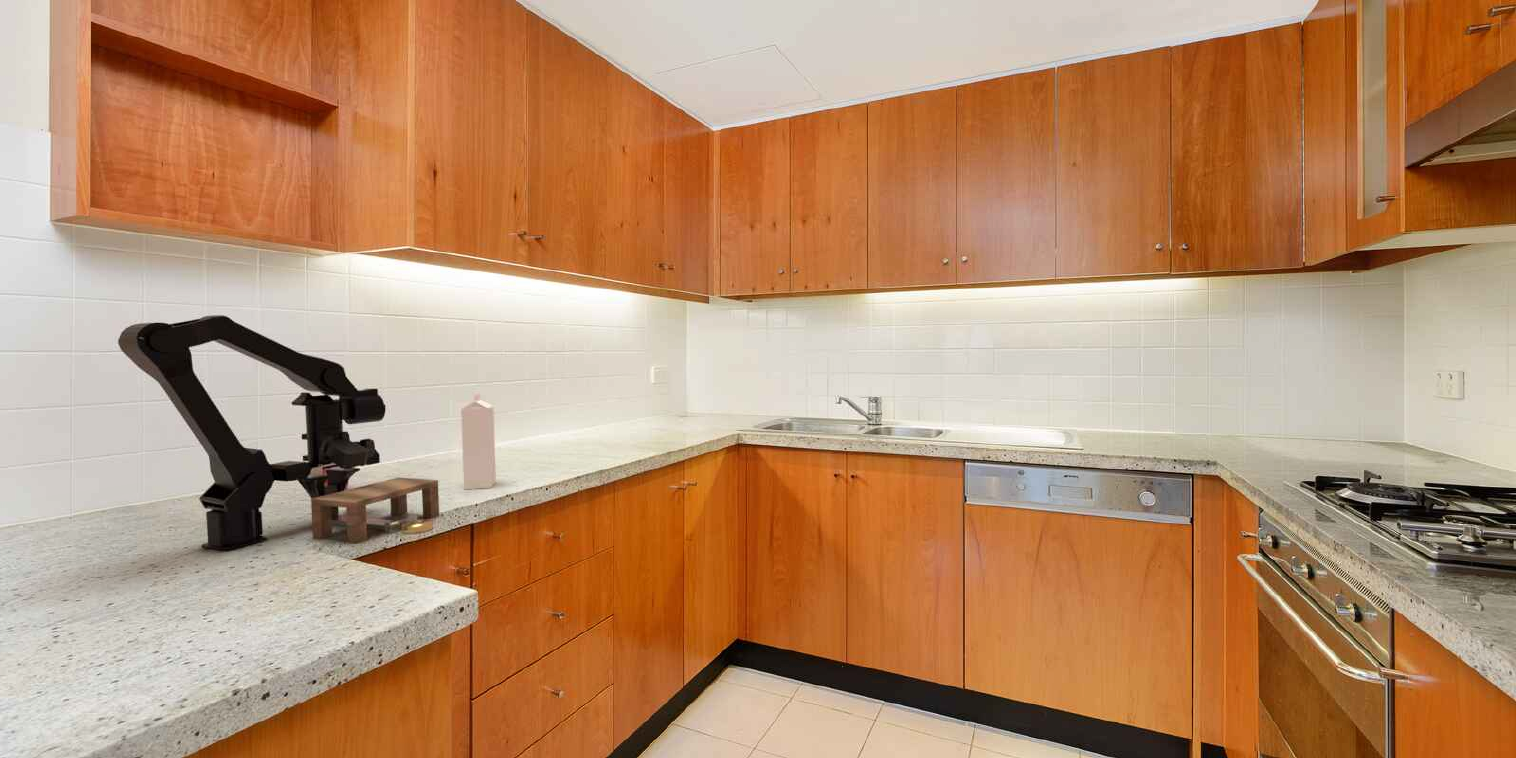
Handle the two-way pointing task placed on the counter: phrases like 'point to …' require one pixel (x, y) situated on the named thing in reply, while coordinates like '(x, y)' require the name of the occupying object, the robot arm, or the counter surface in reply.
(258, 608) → the counter surface
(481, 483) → the milk
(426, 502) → the walnut bench
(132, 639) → the counter surface
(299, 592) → the counter surface
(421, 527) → the brass token
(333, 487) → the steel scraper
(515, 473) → the counter surface
